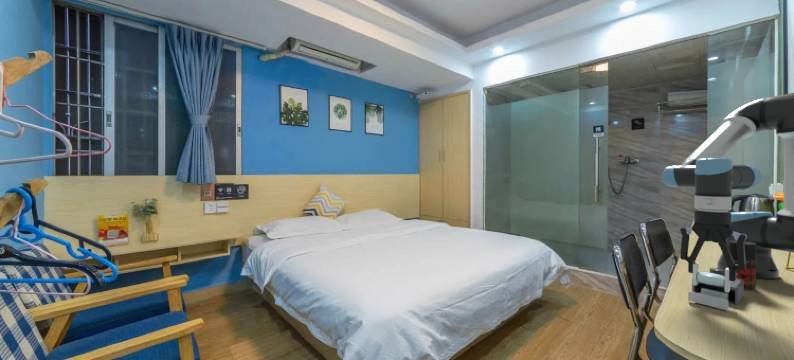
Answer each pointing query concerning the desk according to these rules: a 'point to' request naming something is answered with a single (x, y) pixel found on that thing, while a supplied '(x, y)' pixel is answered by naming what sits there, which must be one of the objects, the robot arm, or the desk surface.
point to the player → (735, 286)
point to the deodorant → (750, 269)
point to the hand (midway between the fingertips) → (710, 287)
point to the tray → (710, 298)
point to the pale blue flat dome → (711, 278)
